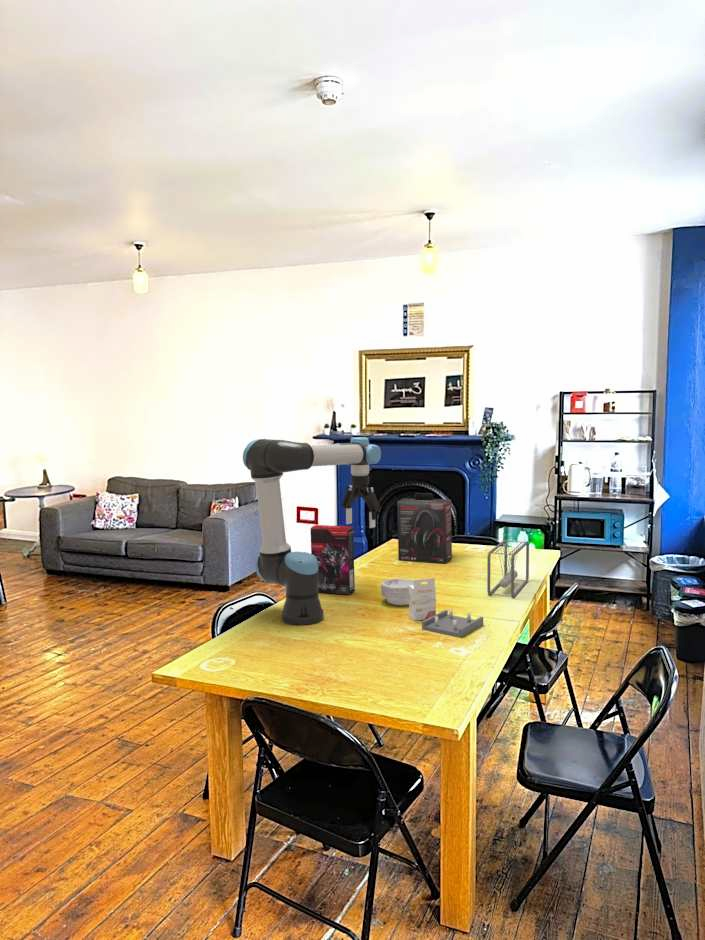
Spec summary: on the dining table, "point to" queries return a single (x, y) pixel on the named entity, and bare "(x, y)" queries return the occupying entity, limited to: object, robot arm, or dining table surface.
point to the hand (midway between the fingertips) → (360, 525)
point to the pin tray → (451, 624)
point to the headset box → (424, 529)
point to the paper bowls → (396, 591)
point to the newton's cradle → (512, 573)
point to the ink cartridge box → (422, 599)
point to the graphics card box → (334, 558)
